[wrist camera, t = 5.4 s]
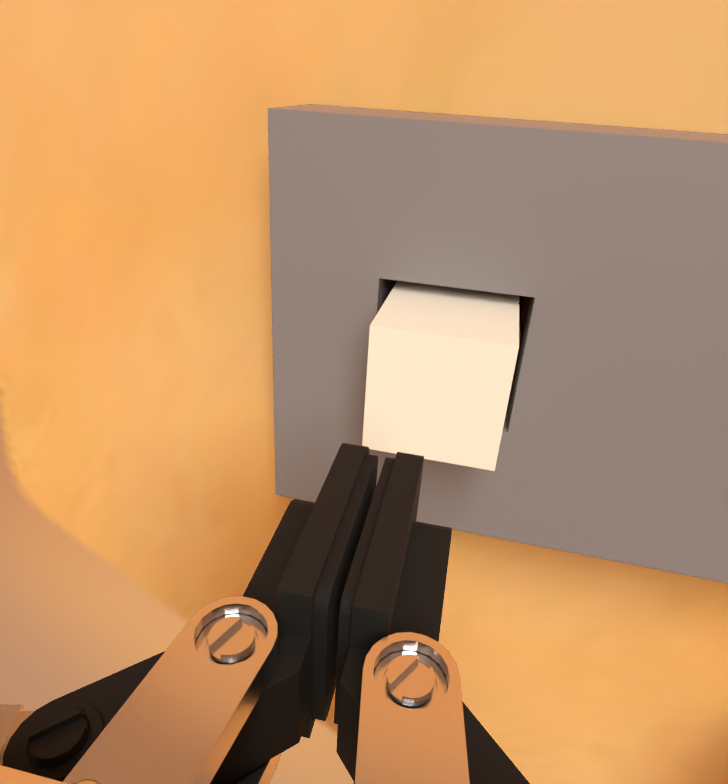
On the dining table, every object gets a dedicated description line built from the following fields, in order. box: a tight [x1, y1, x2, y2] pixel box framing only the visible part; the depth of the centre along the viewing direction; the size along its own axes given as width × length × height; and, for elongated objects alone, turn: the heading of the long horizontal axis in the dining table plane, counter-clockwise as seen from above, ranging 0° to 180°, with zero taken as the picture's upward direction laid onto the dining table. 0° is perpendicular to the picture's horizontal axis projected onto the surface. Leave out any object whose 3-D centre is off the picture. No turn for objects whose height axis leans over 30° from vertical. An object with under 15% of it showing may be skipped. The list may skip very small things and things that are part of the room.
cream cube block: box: [362, 281, 519, 471], centre depth 18 cm, size 4×4×4 cm
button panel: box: [268, 104, 728, 583], centre depth 20 cm, size 14×24×4 cm, turn 87°
